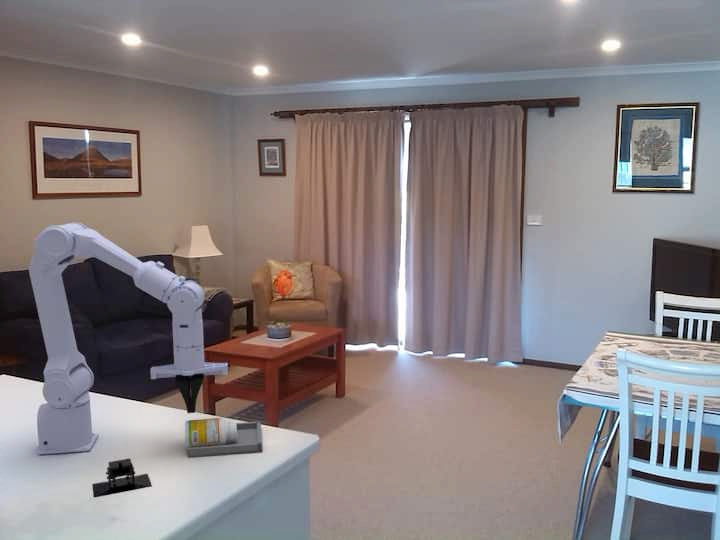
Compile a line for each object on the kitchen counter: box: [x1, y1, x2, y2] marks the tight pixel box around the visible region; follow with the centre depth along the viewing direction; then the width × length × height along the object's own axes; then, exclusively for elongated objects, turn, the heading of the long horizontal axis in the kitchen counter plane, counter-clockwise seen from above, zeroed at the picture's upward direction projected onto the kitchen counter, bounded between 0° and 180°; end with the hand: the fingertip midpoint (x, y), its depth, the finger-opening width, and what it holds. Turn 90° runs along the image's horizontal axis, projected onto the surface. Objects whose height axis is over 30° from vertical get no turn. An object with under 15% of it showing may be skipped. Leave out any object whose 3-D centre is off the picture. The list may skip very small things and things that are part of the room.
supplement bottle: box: [184, 417, 237, 449], centre depth 129 cm, size 5×5×10 cm
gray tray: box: [186, 421, 263, 458], centre depth 132 cm, size 14×12×2 cm
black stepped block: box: [91, 458, 153, 498], centre depth 114 cm, size 12×7×5 cm, turn 115°
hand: (191, 411), depth 130 cm, fingers closed
